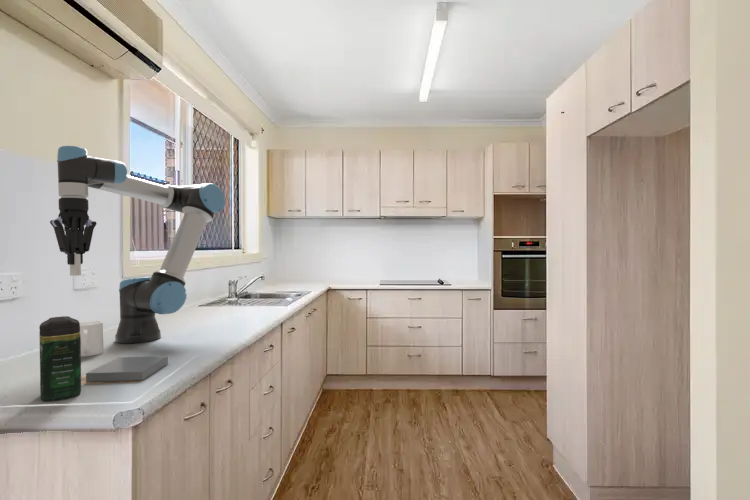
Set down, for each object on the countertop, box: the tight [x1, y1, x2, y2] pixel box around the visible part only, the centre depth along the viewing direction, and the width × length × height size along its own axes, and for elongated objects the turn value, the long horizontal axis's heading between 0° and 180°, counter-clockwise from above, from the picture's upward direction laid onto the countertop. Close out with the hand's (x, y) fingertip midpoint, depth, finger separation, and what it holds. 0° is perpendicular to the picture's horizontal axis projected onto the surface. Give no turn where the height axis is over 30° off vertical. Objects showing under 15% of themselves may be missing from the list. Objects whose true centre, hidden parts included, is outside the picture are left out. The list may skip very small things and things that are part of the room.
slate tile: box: [85, 355, 169, 382], centre depth 122 cm, size 16×2×14 cm
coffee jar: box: [38, 315, 82, 402], centre depth 104 cm, size 10×8×19 cm
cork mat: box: [81, 374, 143, 385], centre depth 122 cm, size 18×18×1 cm
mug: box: [79, 320, 104, 357], centre depth 143 cm, size 12×8×10 cm
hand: (75, 275), depth 136 cm, fingers closed
